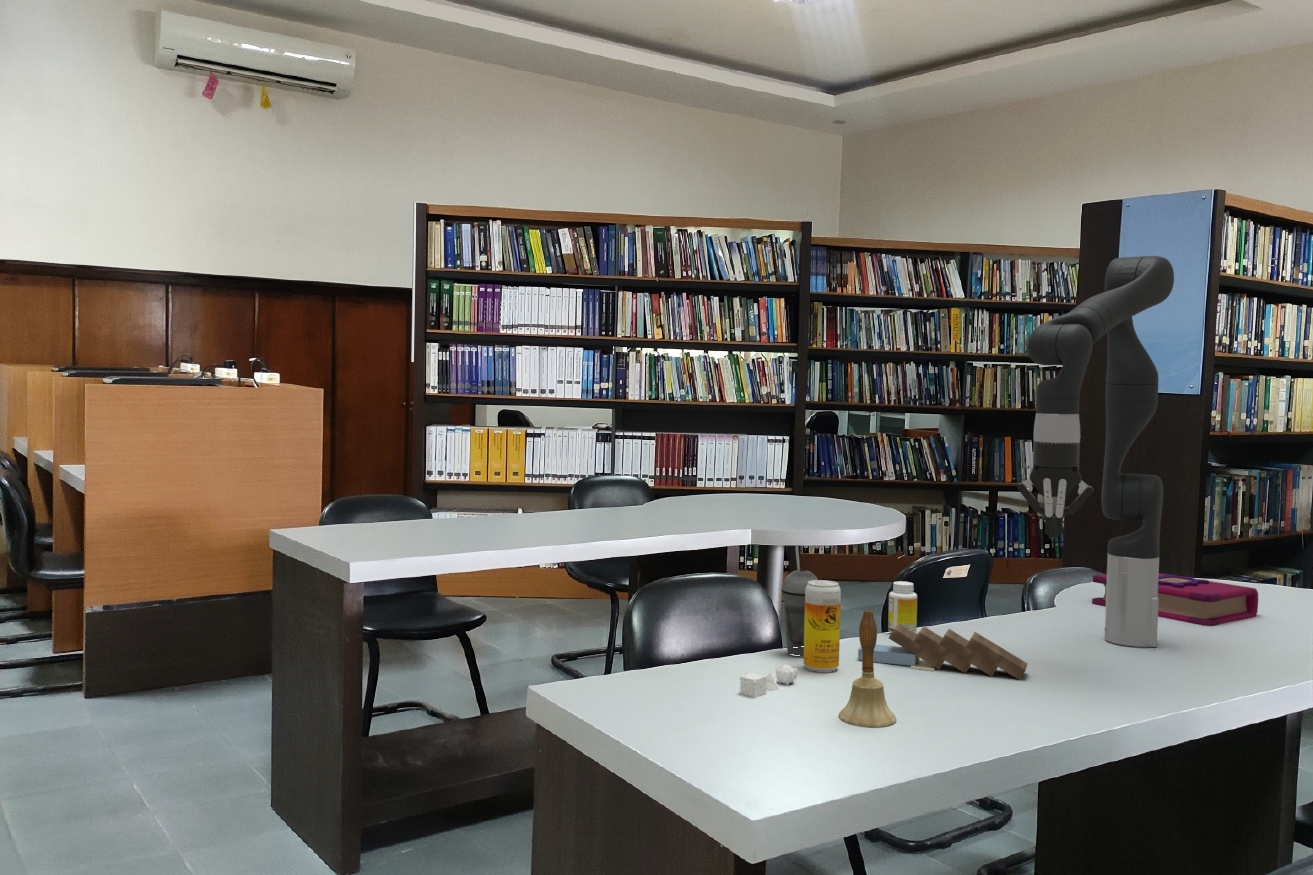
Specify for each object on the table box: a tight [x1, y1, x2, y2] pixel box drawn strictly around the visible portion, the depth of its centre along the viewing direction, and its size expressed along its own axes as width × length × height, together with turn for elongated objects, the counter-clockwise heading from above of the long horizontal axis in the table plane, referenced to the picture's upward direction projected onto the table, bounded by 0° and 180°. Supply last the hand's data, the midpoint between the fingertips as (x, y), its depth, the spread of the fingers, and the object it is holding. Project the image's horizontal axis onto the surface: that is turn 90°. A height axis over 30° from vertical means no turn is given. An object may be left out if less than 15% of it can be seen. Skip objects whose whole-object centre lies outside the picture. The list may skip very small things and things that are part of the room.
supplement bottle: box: [887, 580, 918, 634], centre depth 203 cm, size 6×6×10 cm
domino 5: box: [966, 631, 1028, 681], centre depth 174 cm, size 2×5×10 cm
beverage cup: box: [781, 544, 819, 656], centre depth 185 cm, size 7×7×20 cm
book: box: [1091, 572, 1259, 627], centre depth 232 cm, size 21×28×8 cm
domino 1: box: [857, 644, 920, 667], centre depth 182 cm, size 2×5×10 cm
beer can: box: [803, 579, 842, 673], centre depth 175 cm, size 6×6×15 cm
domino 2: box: [888, 623, 946, 671], centre depth 180 cm, size 2×5×10 cm
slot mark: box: [910, 658, 936, 672], centre depth 179 cm, size 4×7×1 cm, turn 157°
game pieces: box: [739, 664, 799, 699], centre depth 163 cm, size 12×3×3 cm, turn 136°
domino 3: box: [914, 625, 972, 674], centre depth 178 cm, size 2×5×10 cm
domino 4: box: [939, 628, 999, 677], centre depth 176 cm, size 2×5×10 cm
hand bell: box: [838, 609, 897, 728], centre depth 148 cm, size 8×8×16 cm
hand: (1053, 538), depth 177 cm, fingers closed
